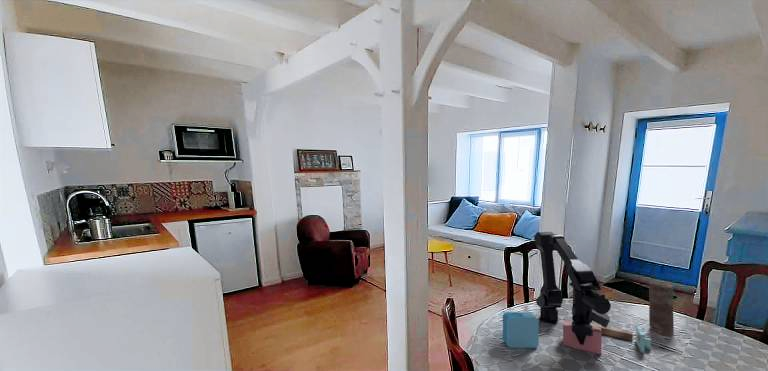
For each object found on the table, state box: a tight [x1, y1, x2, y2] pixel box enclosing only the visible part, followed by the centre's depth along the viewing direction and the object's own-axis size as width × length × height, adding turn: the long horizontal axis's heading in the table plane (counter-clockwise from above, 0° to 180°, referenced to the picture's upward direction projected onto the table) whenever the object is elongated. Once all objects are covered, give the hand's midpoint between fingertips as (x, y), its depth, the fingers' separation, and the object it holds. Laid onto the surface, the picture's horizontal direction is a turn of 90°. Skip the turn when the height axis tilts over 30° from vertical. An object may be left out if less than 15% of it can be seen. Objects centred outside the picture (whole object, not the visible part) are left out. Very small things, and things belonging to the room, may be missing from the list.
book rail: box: [590, 323, 634, 341], centre depth 122 cm, size 18×2×2 cm, turn 58°
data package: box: [502, 311, 540, 349], centre depth 115 cm, size 12×4×12 cm, turn 88°
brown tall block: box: [648, 281, 675, 336], centre depth 122 cm, size 8×7×20 cm
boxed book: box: [562, 320, 603, 355], centre depth 113 cm, size 12×4×8 cm, turn 58°
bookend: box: [635, 323, 652, 355], centre depth 111 cm, size 4×8×7 cm, turn 148°
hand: (581, 341), depth 113 cm, fingers closed on boxed book, 4 cm apart
